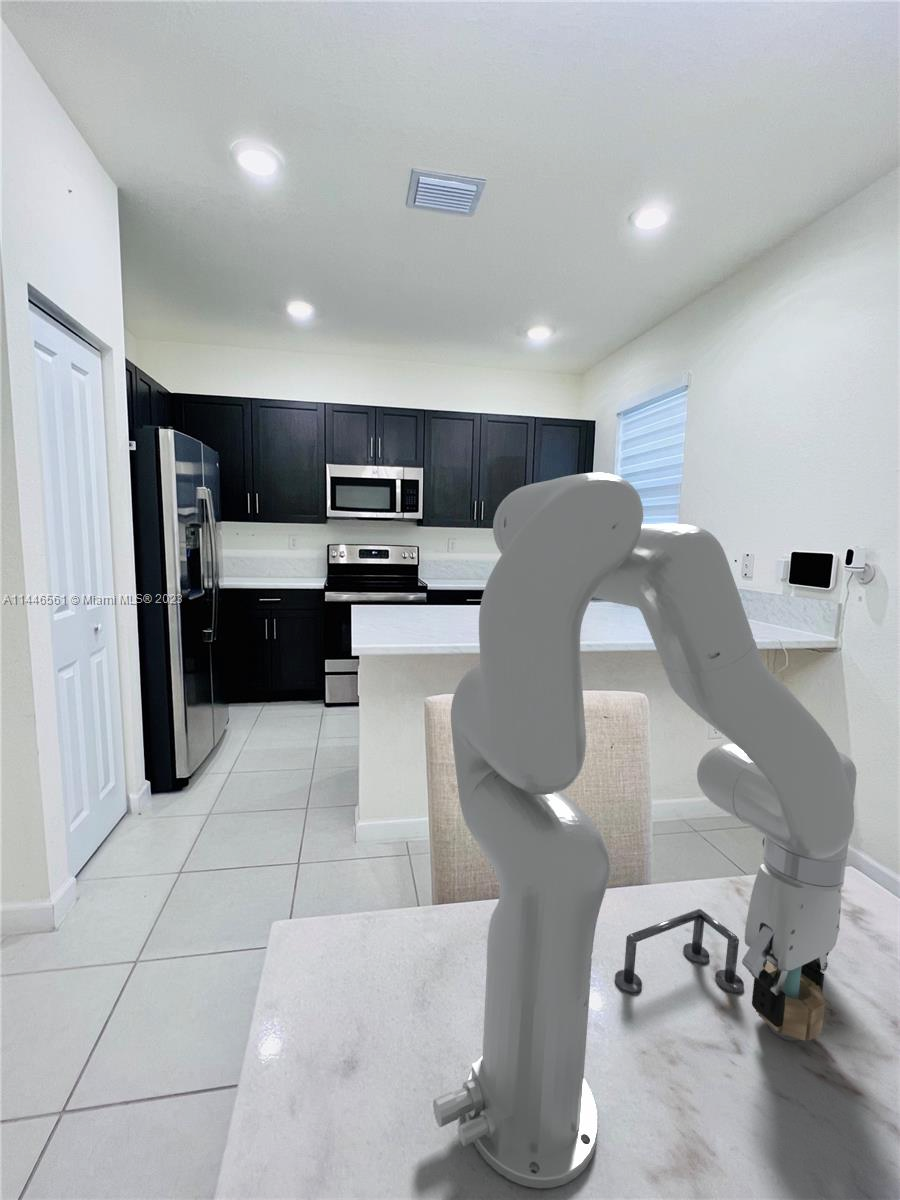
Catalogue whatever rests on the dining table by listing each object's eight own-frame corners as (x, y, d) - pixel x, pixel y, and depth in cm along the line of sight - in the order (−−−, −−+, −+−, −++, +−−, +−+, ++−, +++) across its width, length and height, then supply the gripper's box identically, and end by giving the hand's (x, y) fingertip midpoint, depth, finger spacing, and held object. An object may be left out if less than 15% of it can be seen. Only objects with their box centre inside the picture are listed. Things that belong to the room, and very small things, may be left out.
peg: (788, 1046, 59) (797, 971, 58) (761, 1022, 62) (769, 950, 61) (806, 1035, 61) (815, 962, 60) (779, 1012, 64) (786, 942, 63)
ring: (741, 1000, 63) (744, 972, 62) (776, 983, 65) (779, 956, 65) (796, 1048, 57) (800, 1017, 56) (832, 1026, 60) (836, 997, 59)
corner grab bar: (659, 1031, 60) (664, 979, 60) (609, 977, 68) (612, 929, 67) (749, 988, 67) (754, 940, 66) (694, 943, 74) (698, 899, 74)
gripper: (815, 825, 66) (800, 959, 68) (719, 856, 59) (704, 1005, 61) (885, 859, 59) (866, 1006, 61) (786, 897, 52) (768, 1064, 54)
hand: (786, 1004), depth 61 cm, fingers closed on ring, 6 cm apart
